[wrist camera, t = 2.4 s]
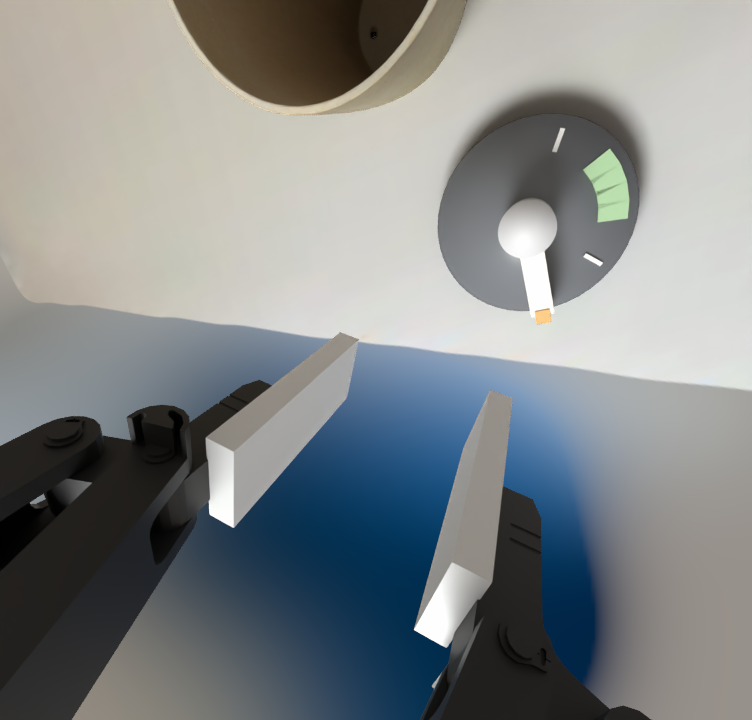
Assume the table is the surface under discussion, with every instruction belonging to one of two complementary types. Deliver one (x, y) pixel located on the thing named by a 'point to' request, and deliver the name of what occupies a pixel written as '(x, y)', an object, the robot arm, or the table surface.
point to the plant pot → (319, 49)
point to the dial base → (547, 182)
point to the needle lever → (531, 250)
